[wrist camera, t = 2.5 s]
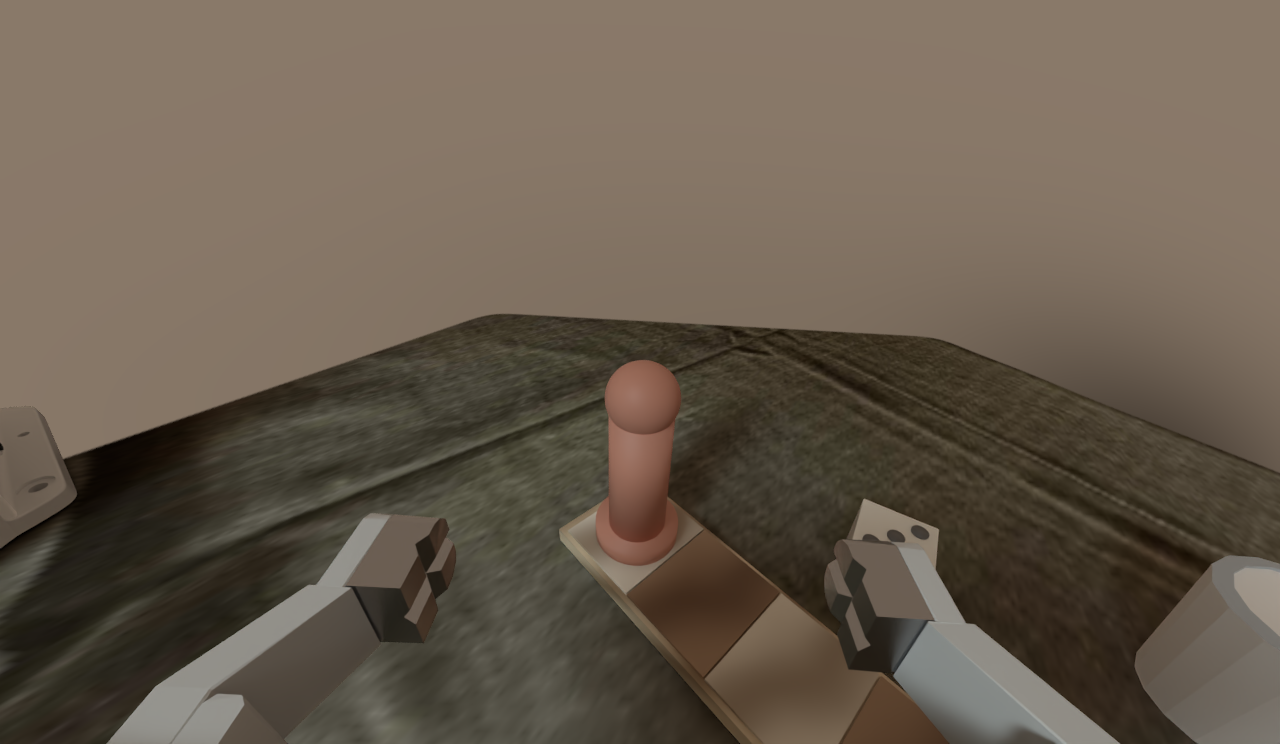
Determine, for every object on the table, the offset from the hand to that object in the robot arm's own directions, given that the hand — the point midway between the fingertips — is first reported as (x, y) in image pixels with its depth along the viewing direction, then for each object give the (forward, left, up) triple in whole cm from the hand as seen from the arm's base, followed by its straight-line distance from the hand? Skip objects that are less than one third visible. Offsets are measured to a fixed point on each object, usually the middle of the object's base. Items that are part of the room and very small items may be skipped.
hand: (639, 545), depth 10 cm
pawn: (-9, +9, -15) cm, 19 cm away
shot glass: (+16, +24, -16) cm, 33 cm away
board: (-1, +9, -16) cm, 18 cm away
